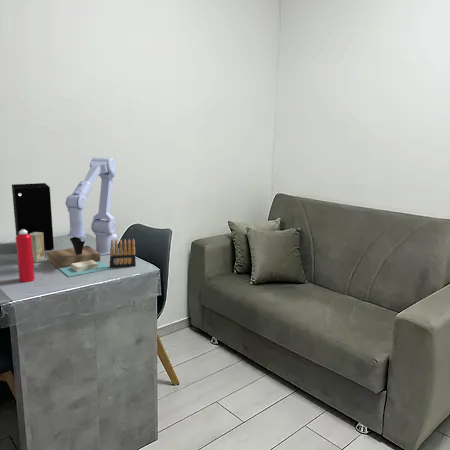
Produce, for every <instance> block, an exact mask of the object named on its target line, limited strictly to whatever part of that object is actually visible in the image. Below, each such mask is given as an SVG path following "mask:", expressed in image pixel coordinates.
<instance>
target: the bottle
mask: <svg viewBox="0 0 450 450" xmlns="http://www.w3.org/2000/svg"><path fill="white" fill-rule="evenodd" d="M15 243H16V244H15V246H16V247H15V248H16V255H17V256H16V257H17V269H18V279H19V282H21V283H30V282H33V281H35V279H36V278H35V277H36V276H35V267H34V266H35V265H34V264H35V262H33V251H32V238H31V235H29V234H28V233H27V231H26V230H25V229H21V230H20V231H19V235H17V236H16V235H15Z"/></svg>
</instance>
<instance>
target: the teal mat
mask: <svg viewBox="0 0 450 450" xmlns="http://www.w3.org/2000/svg"><path fill="white" fill-rule="evenodd" d="M96 263H98V268H97V269H91V270H86V271H80V272H76V271H75V270H73V269H72V266H70V267H65V268H59V269H58V270H59V271H60V272H62V273H63V274H64V275H65V276H67V277H68V278H70V277H71V278H72V277H77V276H81V275H87V274H93V273H98V272H104V271H107V270H112V269H113V268H110V265H108V264H106V263H104V262H103V261H101V260H100V261H99V262H96Z"/></svg>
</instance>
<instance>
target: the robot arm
mask: <svg viewBox="0 0 450 450" xmlns="http://www.w3.org/2000/svg"><path fill="white" fill-rule="evenodd" d="M116 171H117V163H116V161H115V159H114V158H112V157H109V158H108V157H96V156H93V157H92V158H91V160H90V162H89V170H88V172H87V174H86V175H85V177H84V180H81V181H79V183H78V184H77V186H76V187H75V189H74V191H73V192H72V194H69V195H68V196H67V197H66V200H65V203H64V204H65V206H66V208H67V211H68V215H69V216H68V217H69V229H70V230H69V233H67V236H68V237H70V238H69V240H70V242H71V243H72V246H73V248H74V250H75V253H76V255H80V254H82V250H83V246H85V243H86V242H87V236H86V232H85V216H84V215H85V212H84V211H85V210H84V208H85V207H86V205H87V200H88V196H89V195H90V193H91V191H92V190H93V186H92V185H93V183H94V182H95V181H96V179H97V178H98V177H100V179H101V181H100V182H101V185H100V194H99V203H98V204H99V205H98V212H97V213H96V214H95V215H93V219H92V222H91V224H90V228H91V231H92V233H93V234H94V235H95V245H96V246H95V248H96V249H95V250H96V251H98V252H99V253H100V257H101V256H107V255H110V248H111V240H113V243H114V254H115V241H116V239H117V241H118V240H119V239H118V235H117V233H115V231H116V218H115V217H114V216H113V215H112V214H111V207H112V197H113V187H114V178H115V177H116ZM118 242H119V241H118ZM118 253H119V250H118Z"/></svg>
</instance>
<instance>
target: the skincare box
mask: <svg viewBox="0 0 450 450" xmlns="http://www.w3.org/2000/svg"><path fill="white" fill-rule="evenodd" d="M29 235H31V238H32V251H33V263H39V262H41V261H44V260H45V259H46V255H45V252H46V251H45V250H44V236H43V233H42V232H33V233H30V234H29Z"/></svg>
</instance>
